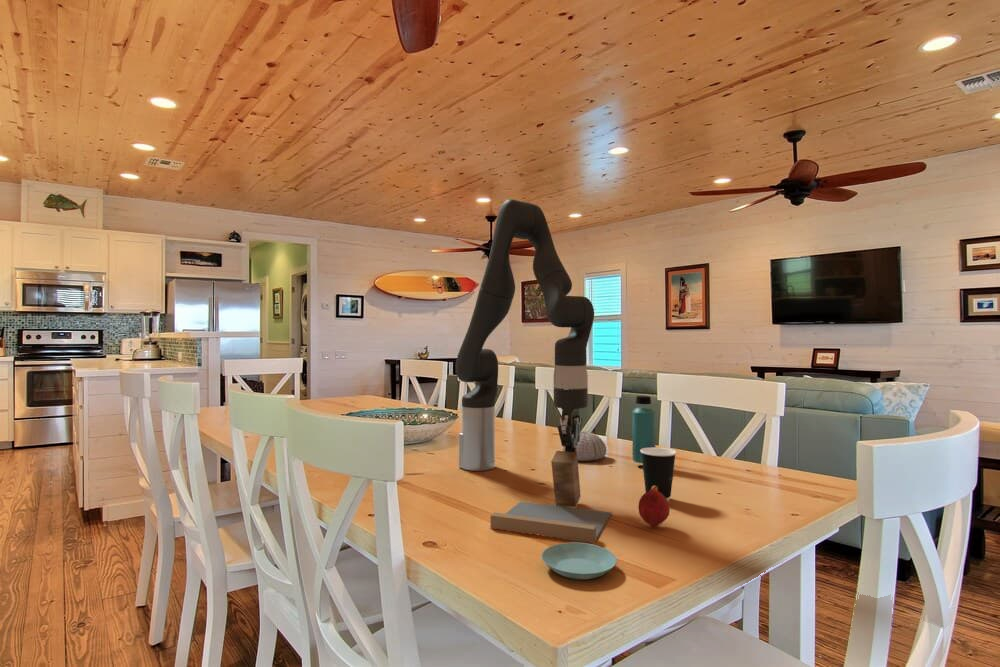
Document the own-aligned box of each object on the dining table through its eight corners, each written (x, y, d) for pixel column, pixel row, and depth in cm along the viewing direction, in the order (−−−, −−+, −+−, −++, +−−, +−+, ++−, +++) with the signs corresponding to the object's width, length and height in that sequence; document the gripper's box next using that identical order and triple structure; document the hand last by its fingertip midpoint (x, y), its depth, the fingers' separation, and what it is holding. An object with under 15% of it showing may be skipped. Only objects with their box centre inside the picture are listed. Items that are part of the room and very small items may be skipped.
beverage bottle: (658, 469, 152) (658, 397, 152) (634, 469, 152) (634, 397, 152) (652, 463, 158) (652, 394, 158) (629, 463, 158) (629, 394, 158)
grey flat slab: (490, 528, 105) (490, 515, 105) (520, 503, 121) (520, 491, 121) (593, 543, 97) (593, 529, 97) (611, 514, 113) (611, 502, 113)
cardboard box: (555, 505, 119) (551, 461, 116) (560, 494, 123) (556, 450, 120) (576, 508, 117) (572, 463, 114) (580, 496, 121) (576, 452, 118)
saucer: (626, 586, 81) (626, 571, 81) (548, 589, 80) (548, 573, 80) (604, 554, 93) (604, 541, 93) (536, 556, 92) (536, 543, 92)
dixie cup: (634, 495, 127) (634, 447, 127) (666, 493, 128) (666, 446, 128) (649, 505, 119) (649, 455, 119) (683, 503, 120) (683, 454, 120)
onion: (664, 534, 102) (664, 491, 102) (634, 528, 105) (634, 487, 105) (672, 525, 107) (672, 484, 107) (643, 520, 110) (643, 480, 110)
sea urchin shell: (561, 462, 160) (561, 435, 160) (563, 452, 173) (563, 427, 173) (607, 464, 158) (607, 436, 158) (606, 454, 171) (606, 428, 171)
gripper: (561, 382, 129) (561, 456, 128) (545, 387, 116) (545, 469, 116) (593, 383, 126) (593, 459, 126) (580, 389, 114) (580, 472, 113)
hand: (570, 463), depth 121 cm, fingers closed
